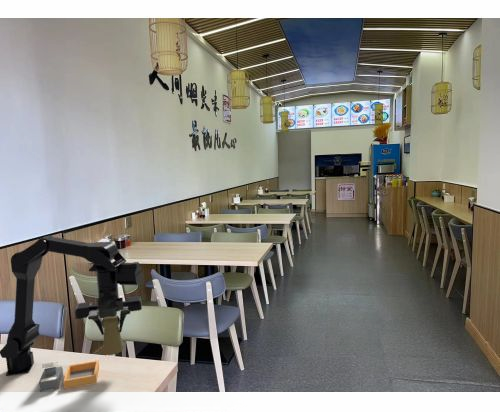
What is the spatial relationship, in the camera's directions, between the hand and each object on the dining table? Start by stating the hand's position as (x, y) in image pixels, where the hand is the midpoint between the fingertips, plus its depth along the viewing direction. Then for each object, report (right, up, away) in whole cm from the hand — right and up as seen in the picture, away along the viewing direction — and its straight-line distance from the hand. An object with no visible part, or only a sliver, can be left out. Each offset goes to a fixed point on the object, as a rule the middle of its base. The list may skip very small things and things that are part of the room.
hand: (111, 333), depth 118 cm
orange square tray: (-9, -13, -1) cm, 16 cm away
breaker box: (-17, -14, -3) cm, 22 cm away
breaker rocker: (-17, -9, -4) cm, 20 cm away
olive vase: (0, -6, +1) cm, 6 cm away
